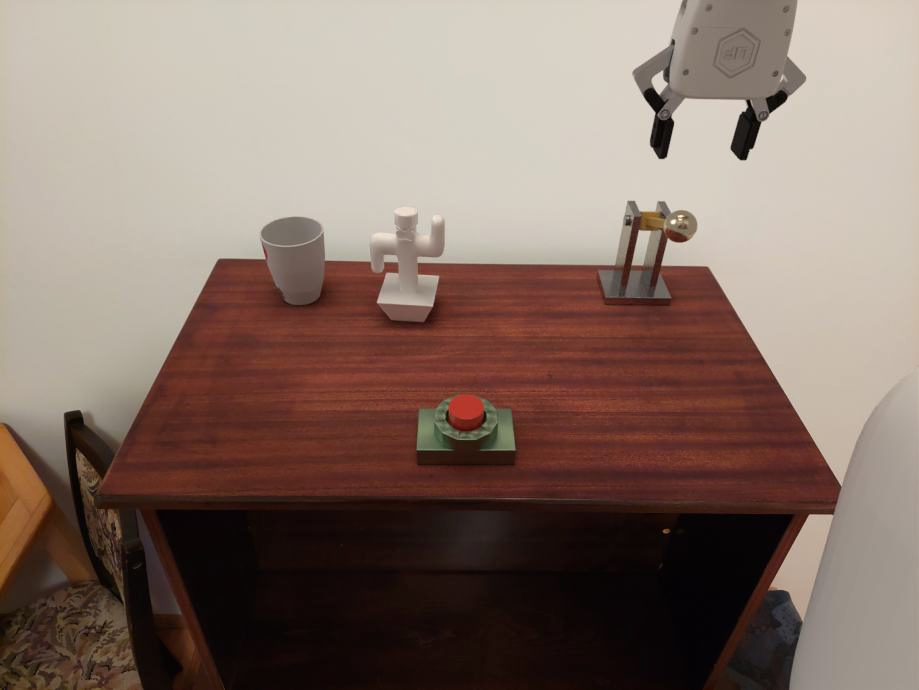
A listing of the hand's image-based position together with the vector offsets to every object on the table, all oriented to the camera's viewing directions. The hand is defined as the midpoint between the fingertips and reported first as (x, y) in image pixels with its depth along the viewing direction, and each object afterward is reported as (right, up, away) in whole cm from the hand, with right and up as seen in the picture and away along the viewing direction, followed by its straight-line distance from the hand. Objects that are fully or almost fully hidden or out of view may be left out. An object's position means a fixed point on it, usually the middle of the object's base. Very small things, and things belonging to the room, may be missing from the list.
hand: (698, 153), depth 67 cm
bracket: (0, -12, +25) cm, 28 cm away
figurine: (-31, -16, +20) cm, 40 cm away
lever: (0, -7, +12) cm, 14 cm away
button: (-24, -27, -1) cm, 37 cm away
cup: (-47, -13, +23) cm, 54 cm away
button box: (-24, -30, +1) cm, 39 cm away
